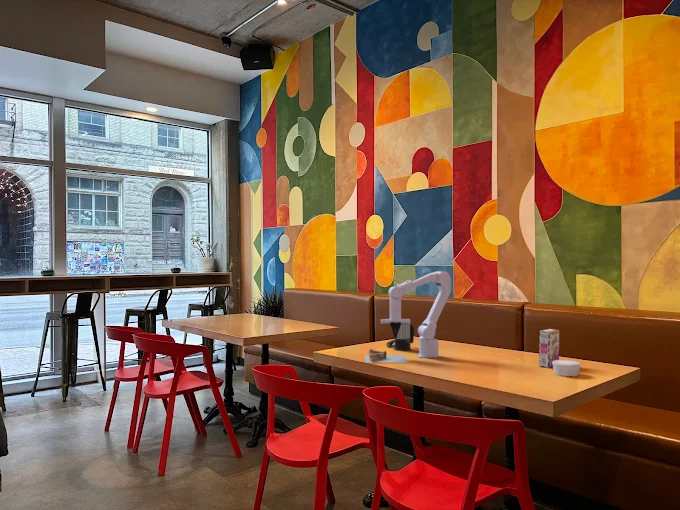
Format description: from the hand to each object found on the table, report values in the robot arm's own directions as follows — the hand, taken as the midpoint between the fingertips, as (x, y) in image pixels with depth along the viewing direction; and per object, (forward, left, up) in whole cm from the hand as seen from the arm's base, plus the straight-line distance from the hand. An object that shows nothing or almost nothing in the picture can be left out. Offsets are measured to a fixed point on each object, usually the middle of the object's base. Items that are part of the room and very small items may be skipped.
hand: (395, 337), depth 259 cm
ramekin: (-69, +38, -10) cm, 79 cm away
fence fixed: (+9, 0, -10) cm, 13 cm away
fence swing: (+10, +7, -9) cm, 15 cm away
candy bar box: (-69, +20, -10) cm, 73 cm away
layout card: (+6, +4, -10) cm, 12 cm away
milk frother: (-4, -27, -10) cm, 30 cm away
